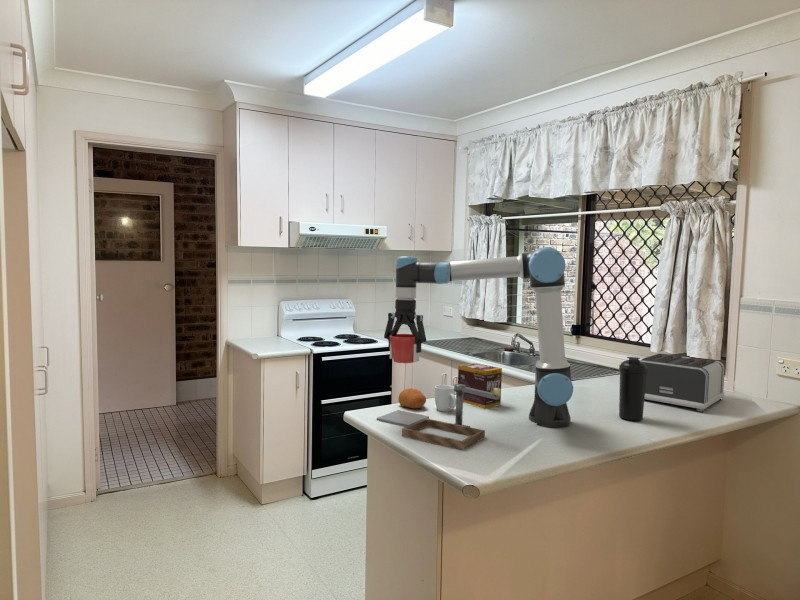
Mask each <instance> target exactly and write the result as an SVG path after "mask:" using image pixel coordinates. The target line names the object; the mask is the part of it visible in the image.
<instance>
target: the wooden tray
mask: <svg viewBox="0 0 800 600" xmlns="http://www.w3.org/2000/svg"><path fill="white" fill-rule="evenodd" d="M466 426H467V425H466ZM466 426H461V425H457V424H455V423H450V422H445V421H443V420H441V421H440V420H436V419H432V418H429V419H427V418H425V419H423V420H421V421H418V422H416V423H414V424H411V425H409V426H407V427H406V426H403V427H401V437H405V438H409V439H413V440H419V441H421V442H427V443H432V444H435V445H439V446H444V447H448V448H451V449H452V448H453V449H457V450H462V451H464V450H466V449H468V448H469V447H471V446H473V445H474V444H476V443H478V442H479V441H481V440H483V439H485V437H486V429H481V428H476V427H471V426H470V427H466ZM426 427H429V428H433V429H438V430H443V431H447V432H452V433H456V434H461V435H467V436H468V437H467V438H465V439H463V440H460V439H457V438H451V437H447V436H442V435H437V434H434V433H429V432H423V431H420V430H422V429H424V428H426Z"/></svg>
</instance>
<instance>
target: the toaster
mask: <svg viewBox="0 0 800 600" xmlns="http://www.w3.org/2000/svg"><path fill="white" fill-rule="evenodd" d="M639 360H640V361H641V362H643V363H644V364H645V365H646V366H647V368H648V372H647V374H646V386H645V398H644V400H648V401H655V402H659V403H660V402H661V403H666V404H671V405H676V406H682V407H688V408H693V409H696V411H697V410H698V411H697V412H699V411H704V412H705V410H706V409H707V408H709V407H710V406H712V405H713V404H715V403H717V402H718V401H721V400H720V399H721V398H724V396H725V392H724V388H725V387H724V384H725V373H726V371H725V370H726V369H725V368H726V367H725V365H724V363H723V362H722V361H719V360H715V359H708V358H700V357H698V358H697V357H692V356H691V357H690V356H689V357H688V356H681V355H676V354H675V355H674V354H667V353H656V354H653V355H650V356H647V357H644V358H641V359H639Z"/></svg>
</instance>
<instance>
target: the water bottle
mask: <svg viewBox="0 0 800 600" xmlns="http://www.w3.org/2000/svg"><path fill="white" fill-rule="evenodd" d="M626 358H627V359H626V360H624V361H622V362H620V364H619V367H618V371H619V404H618V407H619V408H618V410H619V411H618V416H619V417H620V418H621V419H625V420H629V421H641V420H643V418H644V409H645V399H644V398H645V386H646V374H647V372H648V368H647V366H646V365H645V364H644V363H643V362H641V361H640V360H641V358H640V357H636V356H635V357H634V356H627V357H626Z"/></svg>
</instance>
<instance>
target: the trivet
mask: <svg viewBox="0 0 800 600" xmlns="http://www.w3.org/2000/svg"><path fill="white" fill-rule="evenodd" d="M425 418H427V419H430V416H429V415H425V414H419V413H414V412H410V411H404V410H400V409H399V410H398V409H397V410H394V411H392V412H389V413H386V414H384V415H381V416H377V417H376V421H378V420H379V422H383V421H384V422H383V423H388V424H393V425H398V426H401V427H407V426H409V425H411V424H414V423H416V422H418V421H421V420H423V419H425Z"/></svg>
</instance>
